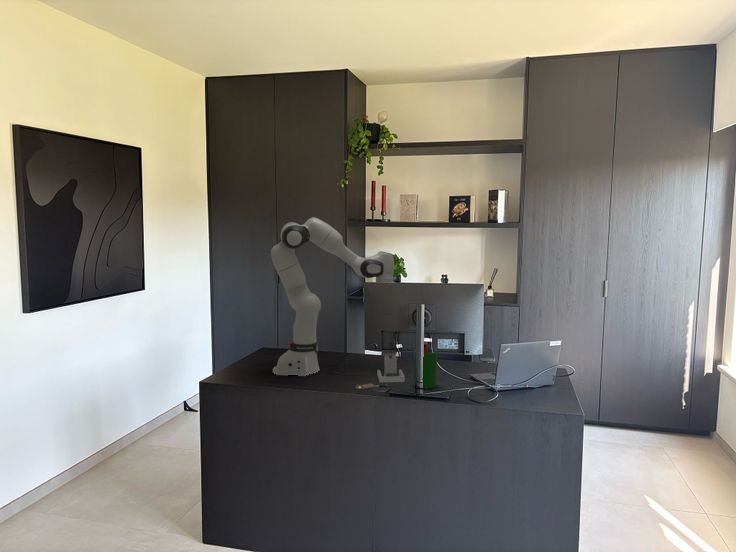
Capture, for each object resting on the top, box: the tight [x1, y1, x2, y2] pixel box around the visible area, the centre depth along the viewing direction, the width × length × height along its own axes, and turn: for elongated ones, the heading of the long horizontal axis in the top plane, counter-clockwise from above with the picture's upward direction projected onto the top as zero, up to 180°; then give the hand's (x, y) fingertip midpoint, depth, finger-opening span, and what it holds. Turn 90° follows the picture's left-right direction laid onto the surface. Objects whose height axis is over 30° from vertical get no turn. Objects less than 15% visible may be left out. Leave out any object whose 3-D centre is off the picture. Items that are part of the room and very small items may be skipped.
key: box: [355, 383, 375, 390], centre depth 232 cm, size 8×3×1 cm, turn 119°
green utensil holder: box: [413, 342, 439, 390], centre depth 233 cm, size 10×9×20 cm
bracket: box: [376, 369, 406, 384], centre depth 244 cm, size 11×11×2 cm
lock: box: [383, 353, 398, 376], centre depth 244 cm, size 5×6×11 cm
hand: (383, 313), depth 259 cm, fingers open, 8 cm apart
